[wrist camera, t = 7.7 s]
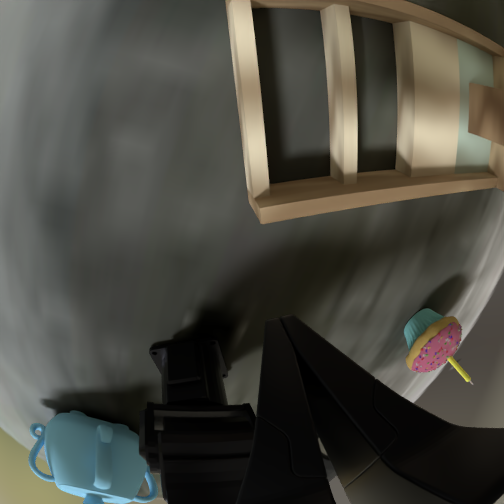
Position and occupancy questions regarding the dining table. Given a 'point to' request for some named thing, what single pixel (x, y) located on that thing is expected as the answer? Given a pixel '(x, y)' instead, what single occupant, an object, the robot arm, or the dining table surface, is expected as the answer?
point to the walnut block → (486, 112)
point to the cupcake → (432, 341)
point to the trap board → (345, 110)
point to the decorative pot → (92, 459)
